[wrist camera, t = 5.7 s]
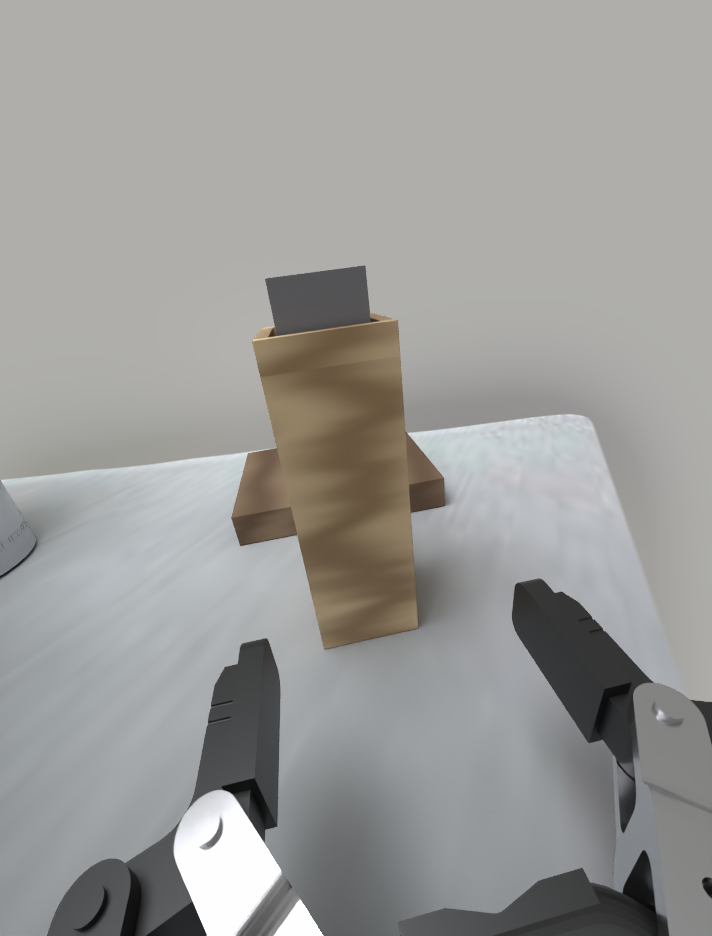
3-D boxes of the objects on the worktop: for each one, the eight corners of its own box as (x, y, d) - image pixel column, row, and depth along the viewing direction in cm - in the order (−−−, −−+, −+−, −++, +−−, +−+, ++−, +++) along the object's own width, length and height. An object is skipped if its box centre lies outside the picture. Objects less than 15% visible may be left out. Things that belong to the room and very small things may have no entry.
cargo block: (283, 369, 14) (265, 278, 12) (285, 355, 17) (269, 281, 15) (373, 355, 14) (365, 265, 13) (358, 344, 17) (350, 270, 16)
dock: (240, 545, 28) (231, 517, 27) (253, 475, 39) (248, 453, 38) (444, 505, 29) (444, 478, 28) (403, 448, 40) (401, 426, 39)
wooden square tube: (324, 649, 19) (252, 341, 12) (317, 581, 24) (262, 328, 17) (418, 628, 20) (398, 320, 13) (394, 565, 24) (369, 312, 17)
